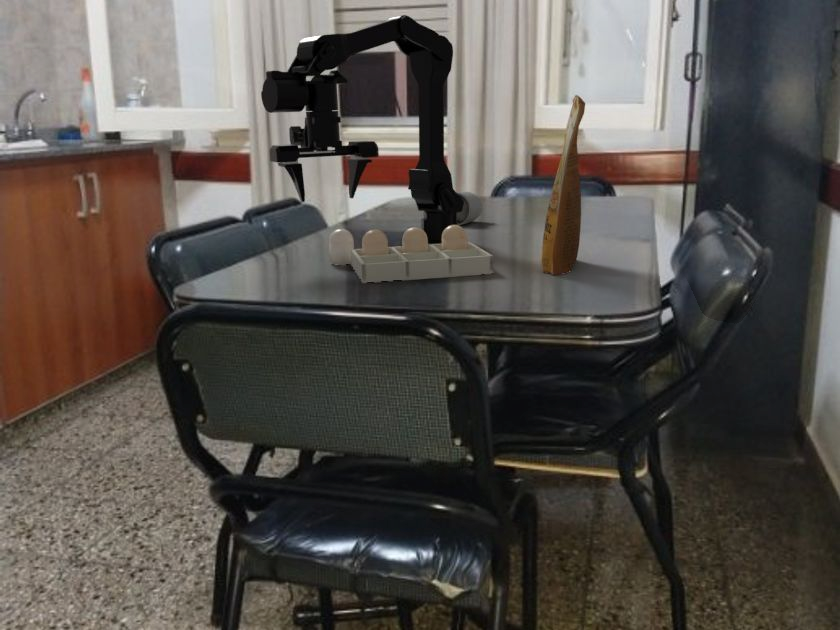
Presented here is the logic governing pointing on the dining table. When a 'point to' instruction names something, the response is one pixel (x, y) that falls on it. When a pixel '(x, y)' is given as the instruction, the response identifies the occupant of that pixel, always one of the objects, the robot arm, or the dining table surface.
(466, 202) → the ceramic mug
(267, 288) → the dining table surface
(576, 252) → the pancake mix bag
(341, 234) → the egg
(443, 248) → the carton
